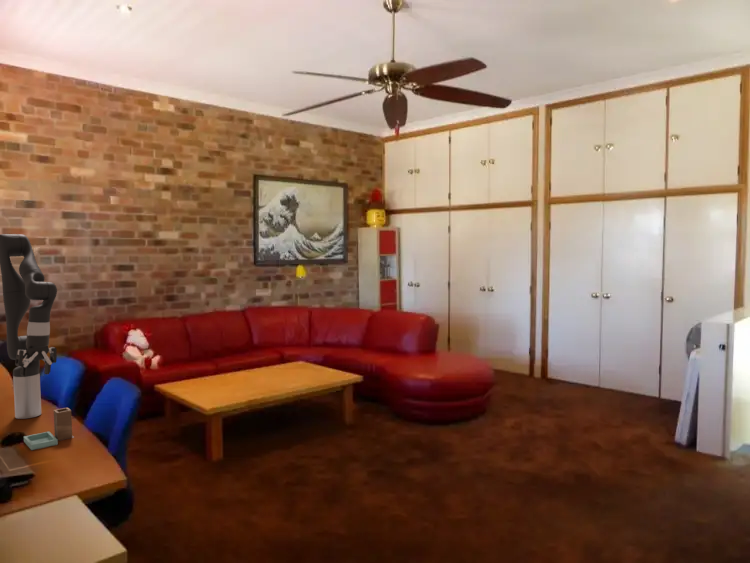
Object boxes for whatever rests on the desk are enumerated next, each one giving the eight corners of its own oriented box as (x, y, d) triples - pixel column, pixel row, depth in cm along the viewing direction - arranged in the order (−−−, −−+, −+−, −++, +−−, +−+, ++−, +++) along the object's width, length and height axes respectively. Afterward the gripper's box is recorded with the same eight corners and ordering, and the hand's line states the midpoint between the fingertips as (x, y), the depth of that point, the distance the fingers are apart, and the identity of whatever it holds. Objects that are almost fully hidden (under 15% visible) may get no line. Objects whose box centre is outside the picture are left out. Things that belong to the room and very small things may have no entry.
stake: (52, 438, 202) (52, 422, 202) (69, 435, 206) (69, 419, 205) (57, 442, 198) (56, 426, 198) (74, 438, 202) (73, 422, 201)
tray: (23, 443, 198) (23, 436, 197) (49, 437, 203) (49, 431, 203) (31, 452, 189) (31, 445, 189) (57, 446, 195) (57, 439, 194)
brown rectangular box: (54, 437, 202) (53, 410, 201) (68, 434, 205) (67, 407, 204) (58, 440, 199) (56, 412, 198) (72, 437, 202) (71, 410, 201)
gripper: (51, 331, 222) (48, 372, 222) (13, 333, 210) (10, 376, 210) (62, 333, 218) (59, 374, 218) (24, 335, 206) (21, 379, 206)
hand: (35, 375), depth 214 cm, fingers open, 8 cm apart
